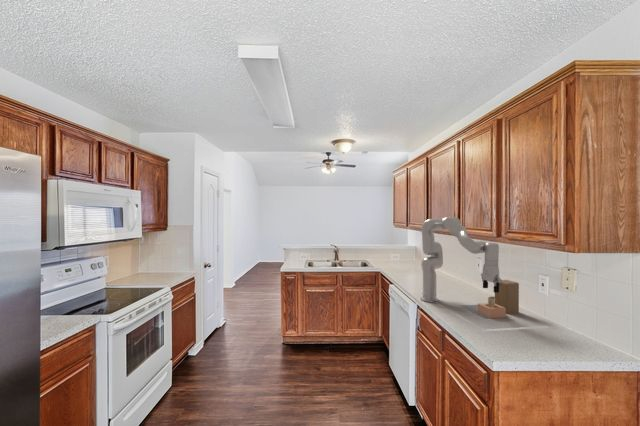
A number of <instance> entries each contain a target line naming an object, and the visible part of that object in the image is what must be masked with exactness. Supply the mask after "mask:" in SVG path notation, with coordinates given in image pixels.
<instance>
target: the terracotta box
mask: <svg viewBox="0 0 640 426" xmlns="http://www.w3.org/2000/svg"><path fill="white" fill-rule="evenodd" d="M477 305H478V313H480V314H482V315H484V316H486V317H488V318H490V319H502V318H501V317H506V315H507V314H506V308H504V307H502V306H500V305H497V304H495V307H491V308H490V307H488V302H484V303H483V302H482V303H477Z"/></svg>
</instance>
